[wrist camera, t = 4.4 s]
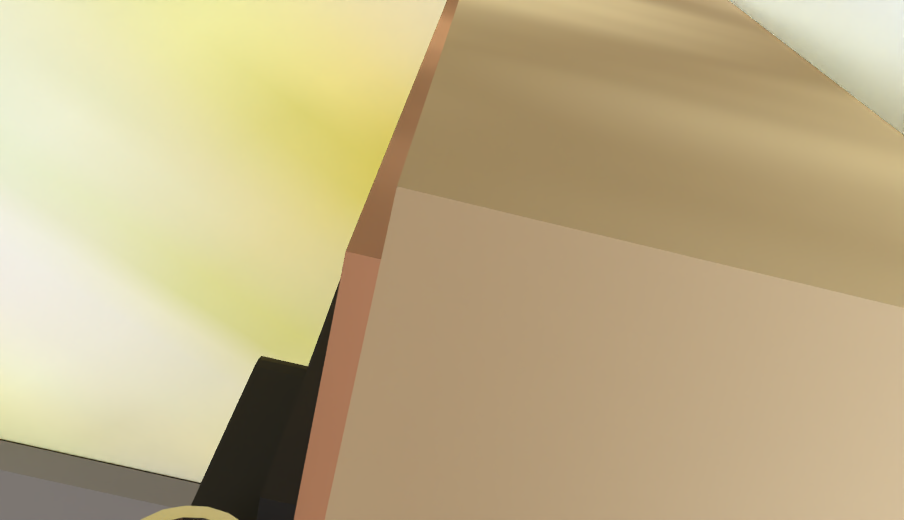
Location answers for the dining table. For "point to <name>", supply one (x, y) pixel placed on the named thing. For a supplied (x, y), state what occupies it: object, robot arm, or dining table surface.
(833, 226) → the brown wooden block
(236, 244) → the dining table surface
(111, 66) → the dining table surface
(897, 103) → the dining table surface
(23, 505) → the mat
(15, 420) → the dining table surface
